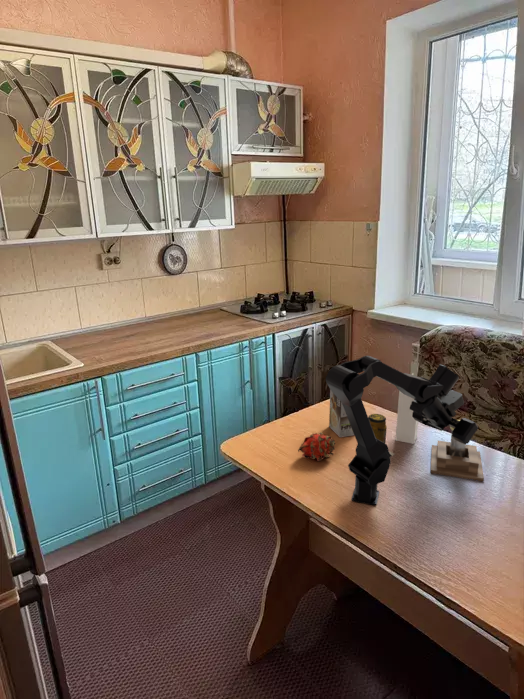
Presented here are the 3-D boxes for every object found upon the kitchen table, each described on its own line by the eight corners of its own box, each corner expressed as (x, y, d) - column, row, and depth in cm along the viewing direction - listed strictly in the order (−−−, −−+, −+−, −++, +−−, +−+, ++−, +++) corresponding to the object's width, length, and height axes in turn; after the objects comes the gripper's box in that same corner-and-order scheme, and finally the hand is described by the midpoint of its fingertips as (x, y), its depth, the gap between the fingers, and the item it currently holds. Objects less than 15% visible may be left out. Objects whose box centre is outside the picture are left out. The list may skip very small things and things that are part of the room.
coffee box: (357, 435, 164) (359, 390, 160) (339, 437, 162) (341, 392, 158) (344, 423, 173) (346, 381, 168) (327, 426, 171) (329, 383, 166)
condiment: (373, 444, 158) (375, 410, 154) (395, 454, 152) (398, 419, 148) (358, 451, 153) (360, 416, 150) (380, 462, 147) (383, 425, 144)
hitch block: (483, 481, 137) (485, 468, 135) (430, 473, 141) (431, 460, 140) (479, 454, 151) (481, 443, 150) (431, 447, 155) (432, 436, 154)
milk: (395, 440, 160) (399, 377, 154) (398, 433, 166) (403, 371, 159) (414, 444, 158) (419, 379, 151) (417, 436, 163) (422, 373, 157)
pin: (469, 464, 143) (474, 427, 140) (451, 465, 143) (455, 428, 139) (460, 455, 148) (465, 419, 145) (443, 456, 148) (447, 420, 144)
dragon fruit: (338, 461, 151) (301, 470, 149) (328, 436, 156) (292, 445, 154) (342, 449, 144) (303, 459, 142) (332, 424, 149) (294, 433, 147)
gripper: (478, 395, 127) (499, 425, 136) (423, 374, 143) (445, 402, 151) (454, 429, 126) (476, 457, 134) (400, 404, 141) (424, 431, 150)
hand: (455, 435), depth 142 cm, fingers open, 9 cm apart
